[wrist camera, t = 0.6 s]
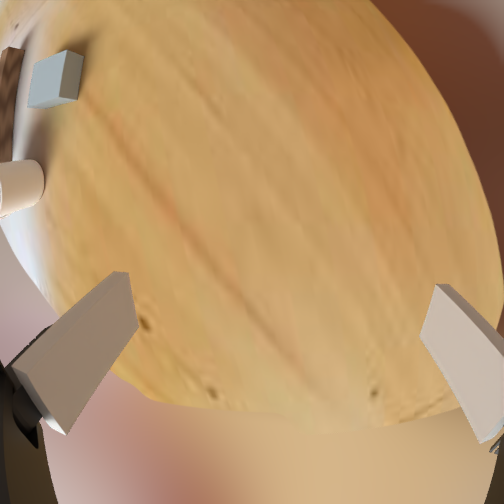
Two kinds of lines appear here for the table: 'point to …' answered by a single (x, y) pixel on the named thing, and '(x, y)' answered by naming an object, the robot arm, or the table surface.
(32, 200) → the mug
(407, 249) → the table surface
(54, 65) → the block
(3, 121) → the board
